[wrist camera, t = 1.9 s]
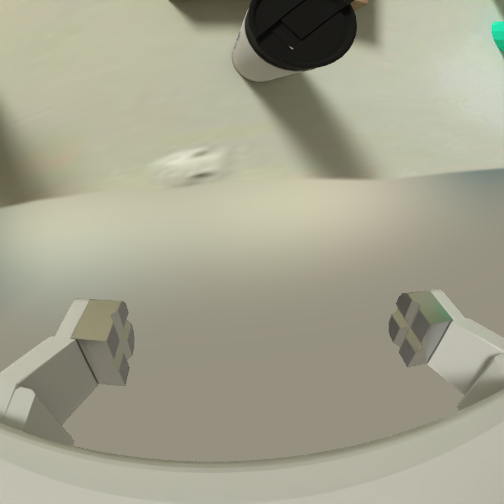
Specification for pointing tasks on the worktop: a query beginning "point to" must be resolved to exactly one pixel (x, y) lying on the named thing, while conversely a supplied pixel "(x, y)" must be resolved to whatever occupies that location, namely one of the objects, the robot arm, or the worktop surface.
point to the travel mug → (292, 37)
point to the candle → (498, 34)
